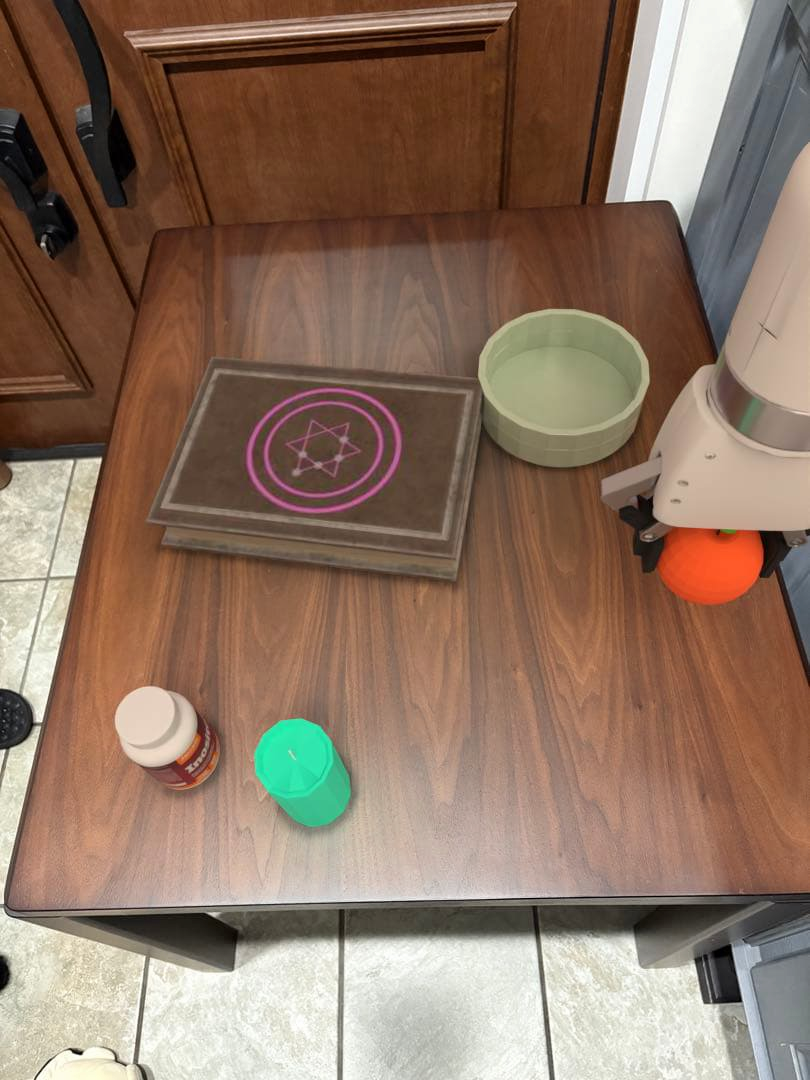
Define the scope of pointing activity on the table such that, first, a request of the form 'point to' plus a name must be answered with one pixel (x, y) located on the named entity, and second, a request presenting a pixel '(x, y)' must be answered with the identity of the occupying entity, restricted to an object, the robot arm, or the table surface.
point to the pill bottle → (167, 737)
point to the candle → (303, 772)
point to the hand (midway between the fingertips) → (702, 556)
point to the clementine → (710, 563)
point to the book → (325, 467)
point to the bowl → (562, 387)
